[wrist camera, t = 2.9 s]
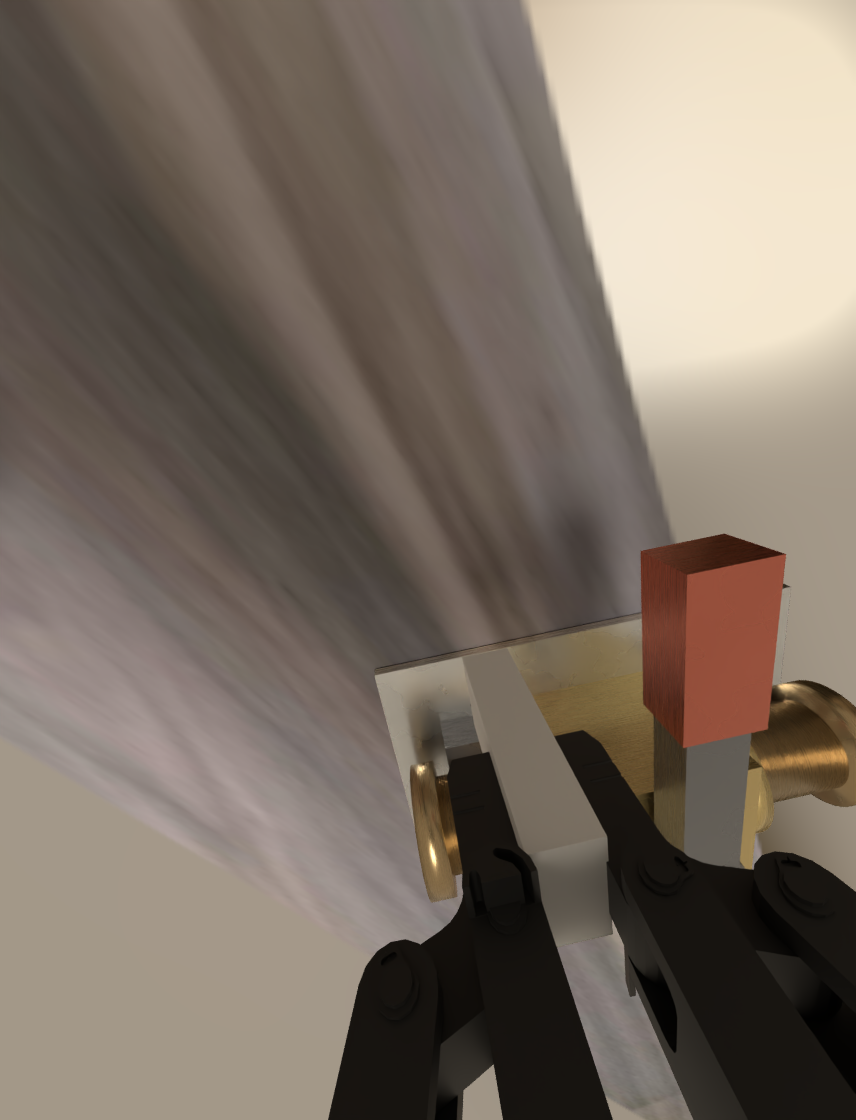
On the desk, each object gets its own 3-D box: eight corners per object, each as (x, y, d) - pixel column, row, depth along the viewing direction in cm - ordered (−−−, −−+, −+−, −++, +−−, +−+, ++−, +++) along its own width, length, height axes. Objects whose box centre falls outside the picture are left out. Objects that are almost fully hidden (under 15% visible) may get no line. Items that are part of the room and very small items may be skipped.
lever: (716, 874, 19) (759, 934, 17) (631, 894, 19) (663, 957, 17) (738, 528, 14) (806, 549, 11) (620, 553, 14) (666, 579, 11)
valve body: (420, 845, 28) (433, 1001, 20) (374, 669, 24) (369, 787, 16) (762, 768, 29) (896, 891, 21) (781, 583, 24) (961, 656, 17)
